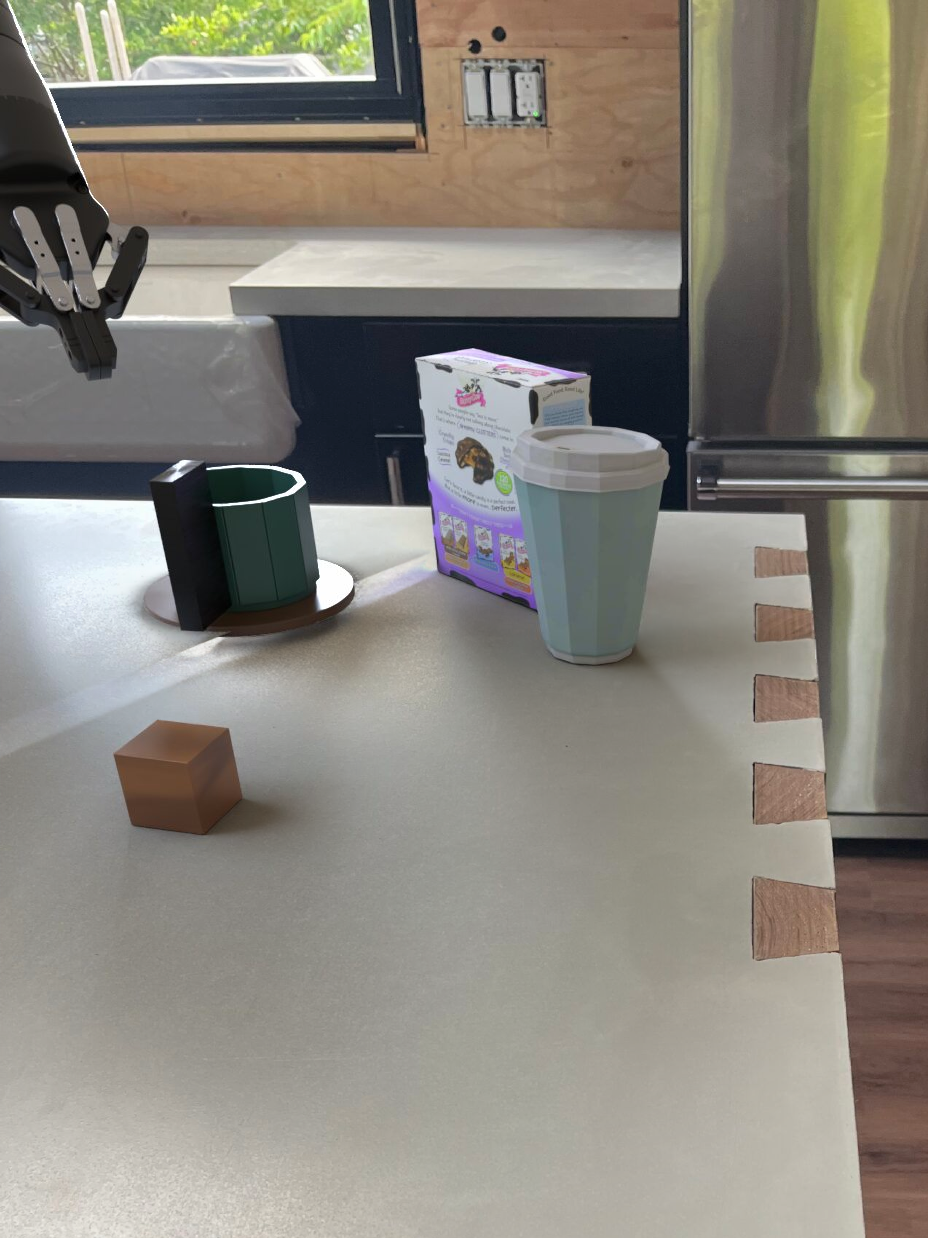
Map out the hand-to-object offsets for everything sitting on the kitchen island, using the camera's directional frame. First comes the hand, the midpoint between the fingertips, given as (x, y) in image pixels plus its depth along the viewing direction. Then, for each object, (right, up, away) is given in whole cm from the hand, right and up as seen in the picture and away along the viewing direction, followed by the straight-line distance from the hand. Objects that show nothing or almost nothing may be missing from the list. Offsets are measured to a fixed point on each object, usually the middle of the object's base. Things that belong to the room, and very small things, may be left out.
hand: (101, 372), depth 87 cm
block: (+10, -30, -12) cm, 34 cm away
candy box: (+24, -9, +19) cm, 32 cm away
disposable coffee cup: (+32, -16, +8) cm, 37 cm away
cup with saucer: (+6, -12, +11) cm, 18 cm away
